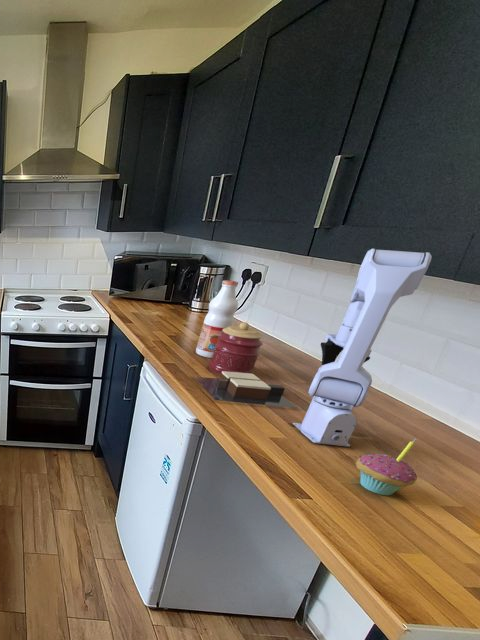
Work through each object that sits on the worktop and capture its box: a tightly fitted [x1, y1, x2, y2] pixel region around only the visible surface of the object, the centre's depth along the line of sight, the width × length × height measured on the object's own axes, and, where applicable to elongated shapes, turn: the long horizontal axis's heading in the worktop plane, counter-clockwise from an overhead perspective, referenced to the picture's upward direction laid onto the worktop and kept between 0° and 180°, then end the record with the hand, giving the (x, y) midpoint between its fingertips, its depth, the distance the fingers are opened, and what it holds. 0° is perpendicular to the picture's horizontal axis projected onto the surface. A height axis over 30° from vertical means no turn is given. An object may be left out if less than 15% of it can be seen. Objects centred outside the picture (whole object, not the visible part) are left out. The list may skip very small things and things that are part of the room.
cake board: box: [193, 376, 298, 409], centre depth 122 cm, size 18×22×1 cm
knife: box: [217, 380, 285, 396], centre depth 121 cm, size 18×2×3 cm, turn 81°
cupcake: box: [355, 438, 418, 496], centre depth 79 cm, size 9×8×12 cm
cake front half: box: [227, 379, 271, 400], centre depth 119 cm, size 5×9×4 cm, turn 81°
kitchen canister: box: [208, 321, 264, 375], centre depth 135 cm, size 13×13×18 cm
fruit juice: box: [195, 279, 239, 359], centre depth 149 cm, size 9×9×28 cm
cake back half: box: [219, 371, 261, 381], centre depth 124 cm, size 5×9×4 cm, turn 81°
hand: (334, 372), depth 115 cm, fingers open, 7 cm apart
